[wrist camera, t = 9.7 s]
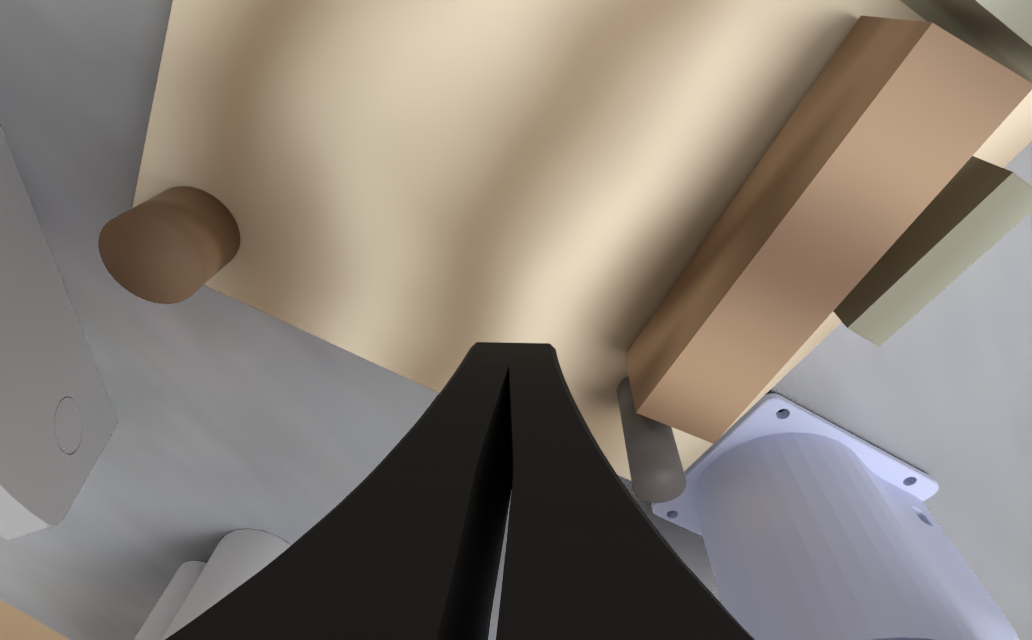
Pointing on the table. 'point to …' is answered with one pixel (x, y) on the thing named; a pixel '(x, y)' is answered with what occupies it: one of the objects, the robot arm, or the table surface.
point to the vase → (210, 580)
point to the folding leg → (817, 216)
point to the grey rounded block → (41, 375)
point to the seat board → (514, 175)
